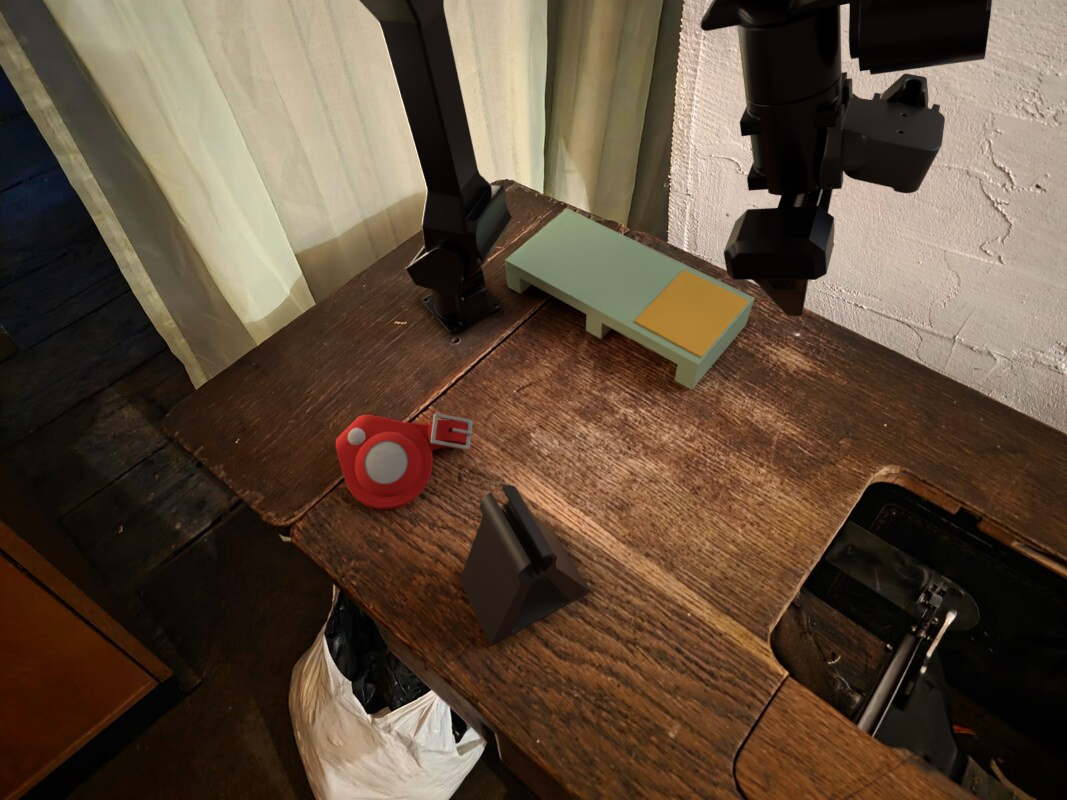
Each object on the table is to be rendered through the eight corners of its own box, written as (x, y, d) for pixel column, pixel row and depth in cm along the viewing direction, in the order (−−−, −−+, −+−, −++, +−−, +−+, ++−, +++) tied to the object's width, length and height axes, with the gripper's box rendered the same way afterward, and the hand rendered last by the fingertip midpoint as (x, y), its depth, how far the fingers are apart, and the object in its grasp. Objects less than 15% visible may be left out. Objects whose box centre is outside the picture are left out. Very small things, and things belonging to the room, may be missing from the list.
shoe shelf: (507, 286, 76) (504, 258, 72) (566, 235, 81) (566, 206, 77) (691, 390, 66) (698, 363, 63) (746, 324, 71) (755, 296, 68)
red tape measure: (387, 529, 57) (306, 454, 59) (398, 535, 62) (322, 465, 63) (483, 425, 60) (402, 357, 62) (486, 437, 64) (411, 372, 66)
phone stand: (554, 533, 58) (553, 461, 48) (590, 593, 55) (596, 529, 45) (459, 581, 56) (437, 516, 46) (490, 647, 52) (474, 591, 43)
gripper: (926, 151, 33) (910, 367, 44) (951, -9, 43) (933, 199, 54) (705, 169, 39) (738, 357, 50) (771, 24, 49) (787, 206, 60)
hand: (805, 274), depth 53 cm, fingers open, 9 cm apart
